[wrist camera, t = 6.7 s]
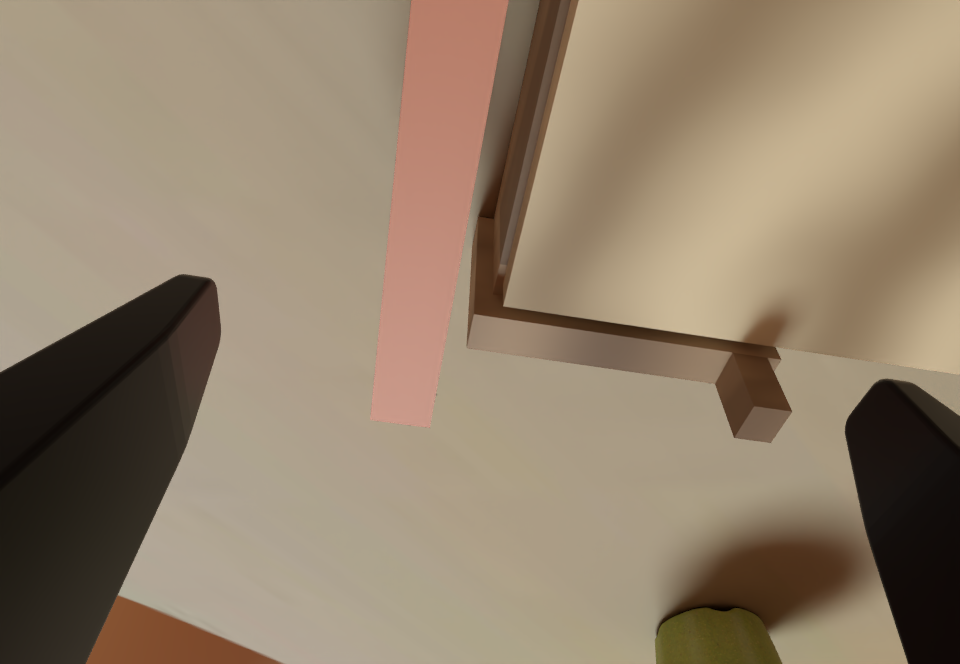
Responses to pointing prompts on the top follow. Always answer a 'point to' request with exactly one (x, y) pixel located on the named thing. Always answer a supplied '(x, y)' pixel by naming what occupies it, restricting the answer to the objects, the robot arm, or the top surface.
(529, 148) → the toolbox
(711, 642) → the plant pot
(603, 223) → the lid
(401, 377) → the bar
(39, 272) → the top surface
